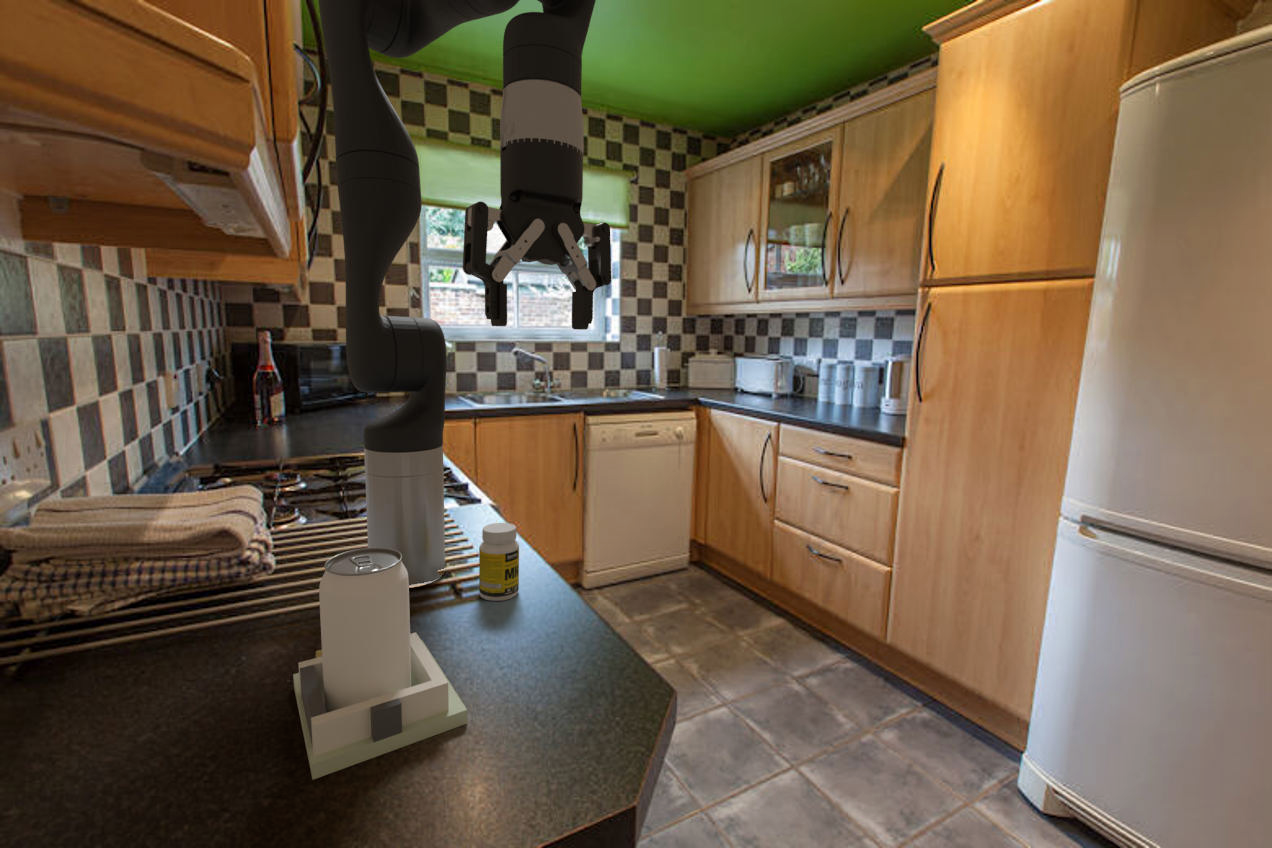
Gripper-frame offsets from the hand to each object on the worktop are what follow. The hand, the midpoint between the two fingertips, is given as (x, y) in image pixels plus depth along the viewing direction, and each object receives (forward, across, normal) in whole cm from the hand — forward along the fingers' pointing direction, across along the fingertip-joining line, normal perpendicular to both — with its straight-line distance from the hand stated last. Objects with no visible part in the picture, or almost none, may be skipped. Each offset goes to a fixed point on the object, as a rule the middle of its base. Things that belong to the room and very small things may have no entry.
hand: (541, 327), depth 55 cm
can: (+31, +17, +3) cm, 35 cm away
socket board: (+32, +16, +2) cm, 36 cm away
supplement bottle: (+32, -1, -13) cm, 35 cm away
